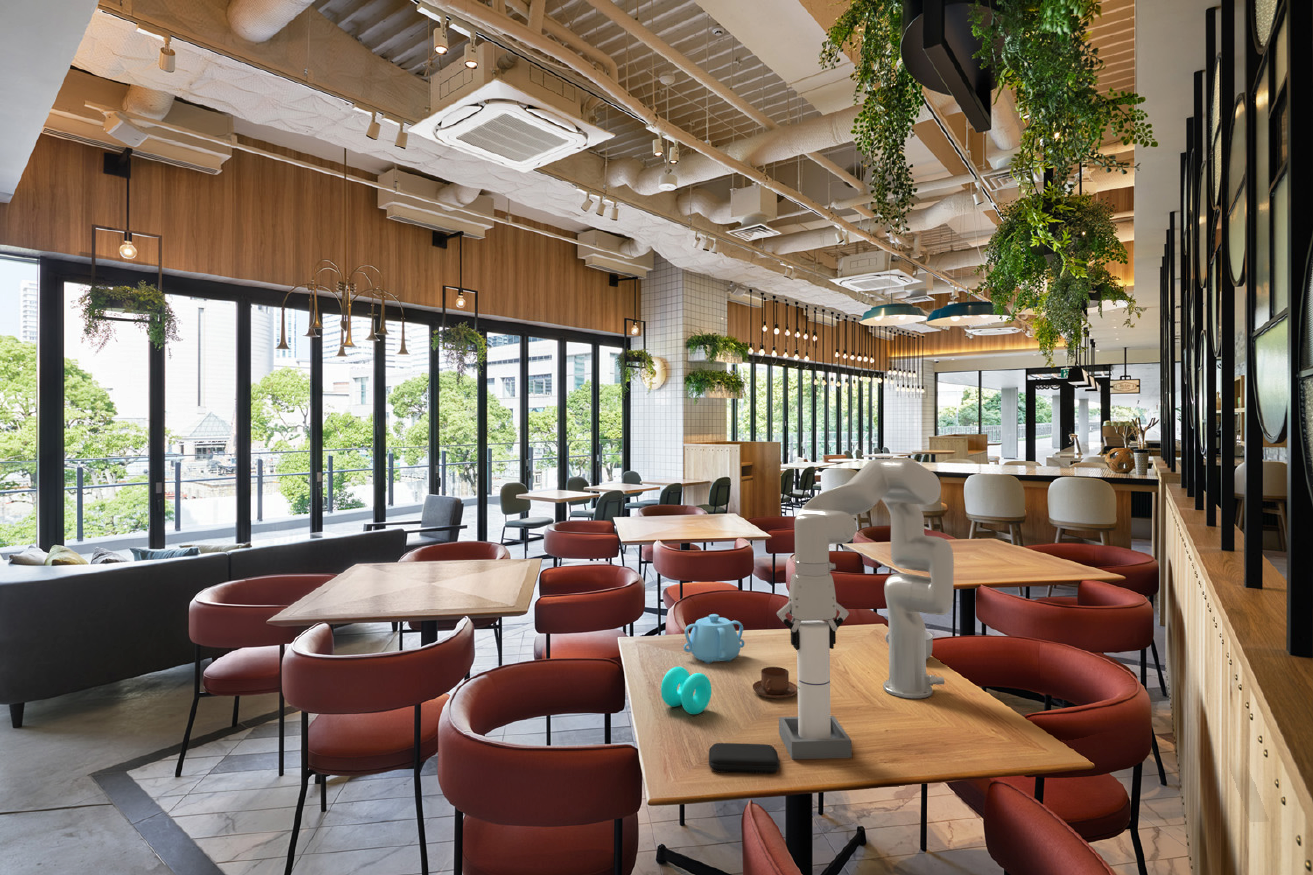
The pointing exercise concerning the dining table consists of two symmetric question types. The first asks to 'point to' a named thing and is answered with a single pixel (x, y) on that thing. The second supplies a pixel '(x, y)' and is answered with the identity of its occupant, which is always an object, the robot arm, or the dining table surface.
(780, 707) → the dining table surface
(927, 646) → the teacup
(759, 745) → the carrying case or bag
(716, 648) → the decorative pot
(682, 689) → the turquoise double ring spool
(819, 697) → the cylindrical container
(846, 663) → the dining table surface
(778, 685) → the cup and saucer
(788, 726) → the holder tray
